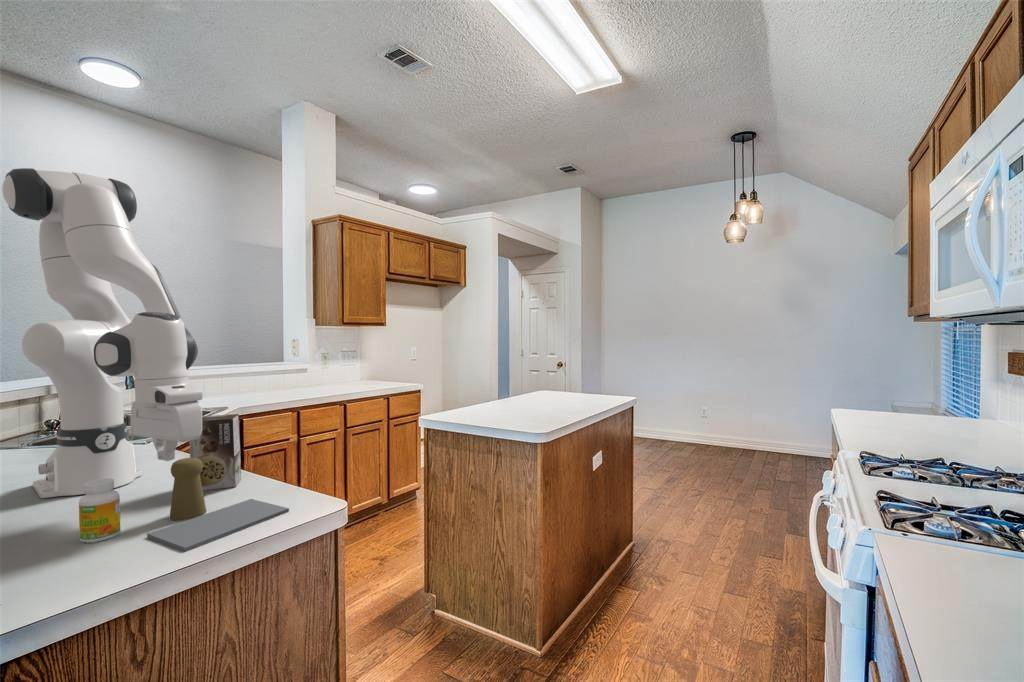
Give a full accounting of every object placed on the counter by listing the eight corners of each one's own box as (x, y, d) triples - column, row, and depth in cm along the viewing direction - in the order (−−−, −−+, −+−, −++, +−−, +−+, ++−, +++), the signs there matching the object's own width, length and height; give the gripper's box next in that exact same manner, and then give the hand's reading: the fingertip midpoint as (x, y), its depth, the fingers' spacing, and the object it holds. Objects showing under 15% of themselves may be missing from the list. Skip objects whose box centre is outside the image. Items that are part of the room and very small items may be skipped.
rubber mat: (147, 537, 82) (147, 533, 82) (251, 501, 99) (251, 498, 99) (185, 551, 76) (185, 547, 76) (289, 511, 93) (288, 508, 93)
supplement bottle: (74, 546, 79) (73, 488, 79) (85, 534, 84) (84, 479, 83) (115, 539, 81) (114, 483, 81) (124, 528, 86) (122, 475, 86)
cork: (187, 521, 89) (186, 464, 88) (161, 519, 90) (159, 462, 90) (214, 509, 94) (212, 455, 94) (188, 507, 96) (187, 454, 95)
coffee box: (242, 479, 114) (240, 413, 114) (235, 487, 108) (234, 417, 108) (198, 483, 111) (197, 415, 111) (189, 492, 105) (187, 420, 105)
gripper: (119, 392, 97) (122, 458, 98) (172, 395, 88) (176, 469, 88) (154, 388, 103) (157, 451, 103) (207, 391, 93) (211, 460, 93)
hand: (166, 459), depth 95 cm, fingers closed
